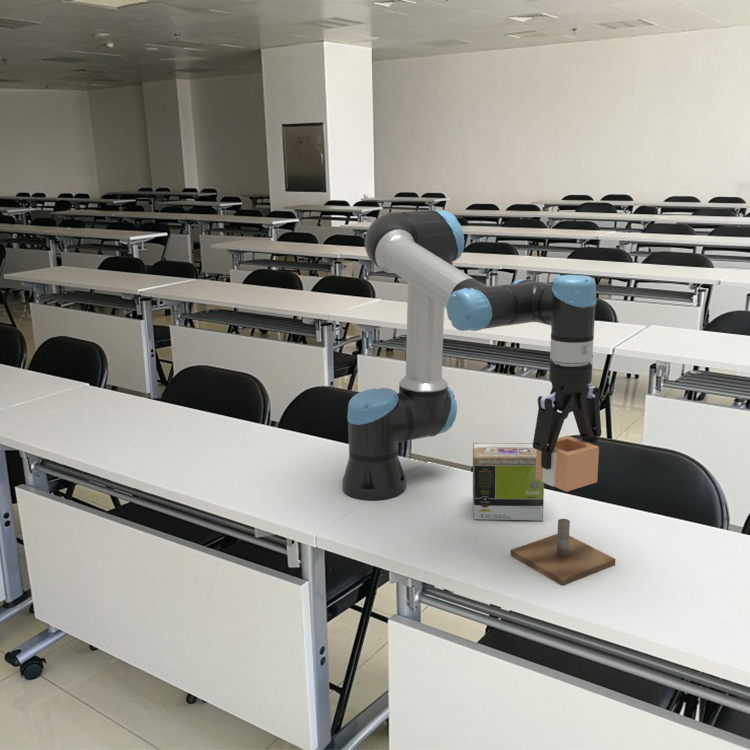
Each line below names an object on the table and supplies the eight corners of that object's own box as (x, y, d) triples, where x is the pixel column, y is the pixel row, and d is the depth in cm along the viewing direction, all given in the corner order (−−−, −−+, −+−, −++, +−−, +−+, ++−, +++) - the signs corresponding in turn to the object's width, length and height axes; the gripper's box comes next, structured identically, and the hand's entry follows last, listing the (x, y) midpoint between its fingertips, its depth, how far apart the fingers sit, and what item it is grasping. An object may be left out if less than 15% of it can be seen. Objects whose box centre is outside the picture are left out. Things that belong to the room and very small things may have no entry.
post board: (510, 555, 157) (511, 517, 155) (562, 537, 164) (563, 500, 162) (562, 585, 145) (564, 544, 143) (615, 564, 153) (617, 525, 151)
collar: (535, 478, 152) (536, 443, 150) (566, 469, 156) (567, 435, 154) (566, 491, 145) (567, 455, 143) (597, 482, 149) (599, 446, 147)
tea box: (538, 503, 181) (541, 441, 177) (543, 522, 171) (545, 457, 167) (471, 501, 182) (472, 440, 179) (472, 520, 173) (473, 456, 169)
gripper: (543, 374, 136) (538, 498, 142) (626, 357, 147) (619, 473, 153) (513, 365, 142) (510, 484, 148) (595, 350, 153) (590, 461, 159)
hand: (565, 478), depth 150 cm, fingers closed on collar, 8 cm apart
